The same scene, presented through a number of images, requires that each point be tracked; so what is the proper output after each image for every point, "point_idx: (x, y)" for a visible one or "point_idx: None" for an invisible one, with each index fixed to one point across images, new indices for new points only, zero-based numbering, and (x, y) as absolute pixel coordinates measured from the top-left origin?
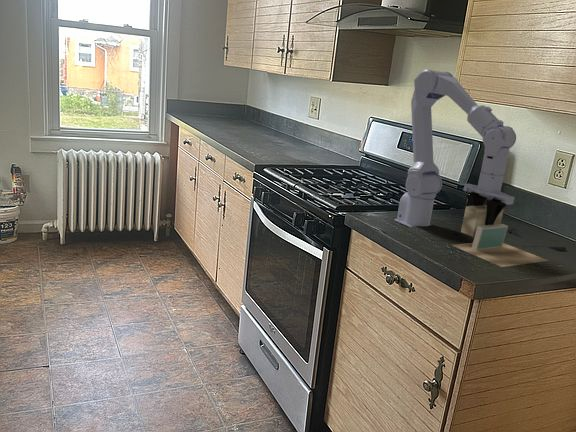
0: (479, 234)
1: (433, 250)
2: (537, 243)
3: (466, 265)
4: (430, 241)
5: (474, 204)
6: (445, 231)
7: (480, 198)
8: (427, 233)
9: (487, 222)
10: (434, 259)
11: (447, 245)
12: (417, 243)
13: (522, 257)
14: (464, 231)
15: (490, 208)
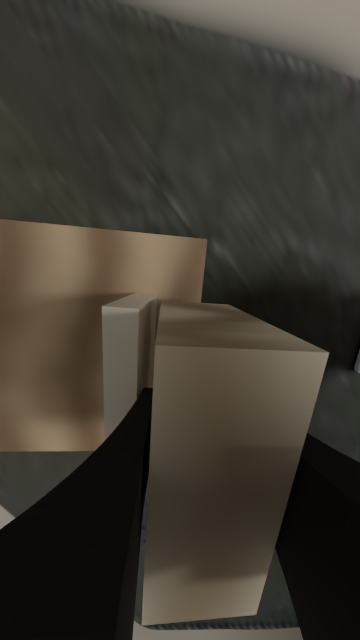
0: (122, 300)
1: (214, 145)
2: (143, 542)
3: (44, 123)
4: (284, 234)
5: (311, 478)
6: (322, 382)
7: (349, 636)
8: (340, 302)
9: (137, 398)
10: (134, 29)
11: (231, 263)
12: (293, 152)
13: (34, 393)
14: (212, 304)
15: (80, 491)
